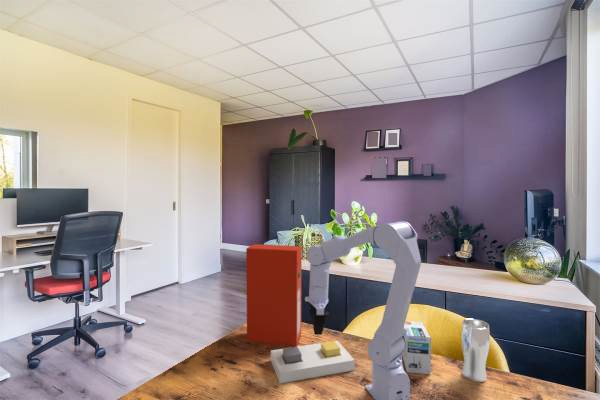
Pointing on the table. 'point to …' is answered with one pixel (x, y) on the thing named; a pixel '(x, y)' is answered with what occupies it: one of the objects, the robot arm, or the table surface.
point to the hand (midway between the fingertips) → (316, 327)
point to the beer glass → (475, 349)
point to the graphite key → (291, 355)
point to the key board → (311, 363)
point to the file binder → (273, 294)
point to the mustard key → (330, 349)
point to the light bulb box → (417, 348)
